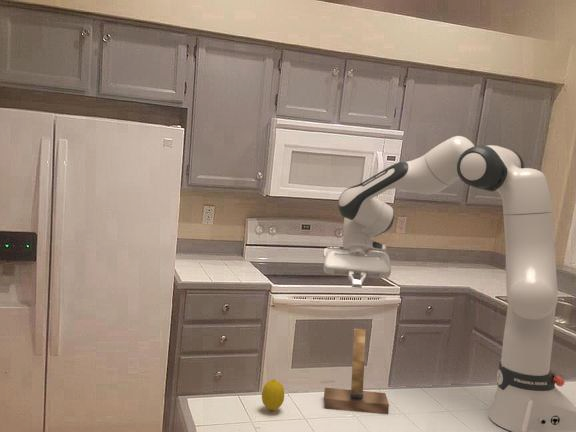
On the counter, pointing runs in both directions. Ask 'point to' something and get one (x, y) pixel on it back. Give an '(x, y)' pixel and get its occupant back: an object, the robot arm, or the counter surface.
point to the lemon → (273, 394)
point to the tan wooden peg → (358, 363)
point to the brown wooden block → (355, 401)
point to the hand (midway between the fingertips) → (356, 286)
